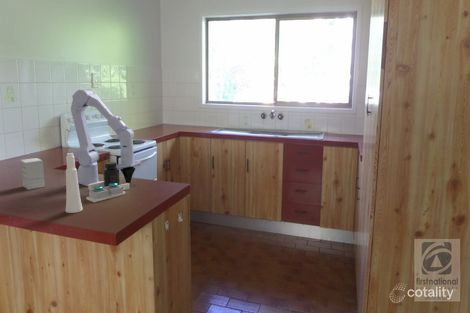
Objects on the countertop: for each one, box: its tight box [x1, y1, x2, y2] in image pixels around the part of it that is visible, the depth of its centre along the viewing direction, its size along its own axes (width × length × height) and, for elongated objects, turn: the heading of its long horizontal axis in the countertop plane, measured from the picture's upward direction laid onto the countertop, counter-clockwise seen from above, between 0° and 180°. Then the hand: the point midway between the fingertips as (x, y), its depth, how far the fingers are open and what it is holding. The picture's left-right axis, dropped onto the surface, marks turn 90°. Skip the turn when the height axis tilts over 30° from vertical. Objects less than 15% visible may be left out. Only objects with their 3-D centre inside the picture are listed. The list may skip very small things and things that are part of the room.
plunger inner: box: [109, 183, 118, 189], centre depth 161 cm, size 4×4×4 cm
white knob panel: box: [86, 180, 130, 203], centre depth 165 cm, size 18×21×4 cm
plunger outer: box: [94, 186, 104, 192], centre depth 156 cm, size 4×4×4 cm
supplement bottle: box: [102, 161, 121, 188], centre depth 170 cm, size 7×7×12 cm
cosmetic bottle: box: [65, 152, 84, 214], centre depth 140 cm, size 6×6×22 cm
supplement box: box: [20, 157, 46, 191], centre depth 171 cm, size 7×7×13 cm
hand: (128, 182), depth 177 cm, fingers closed
